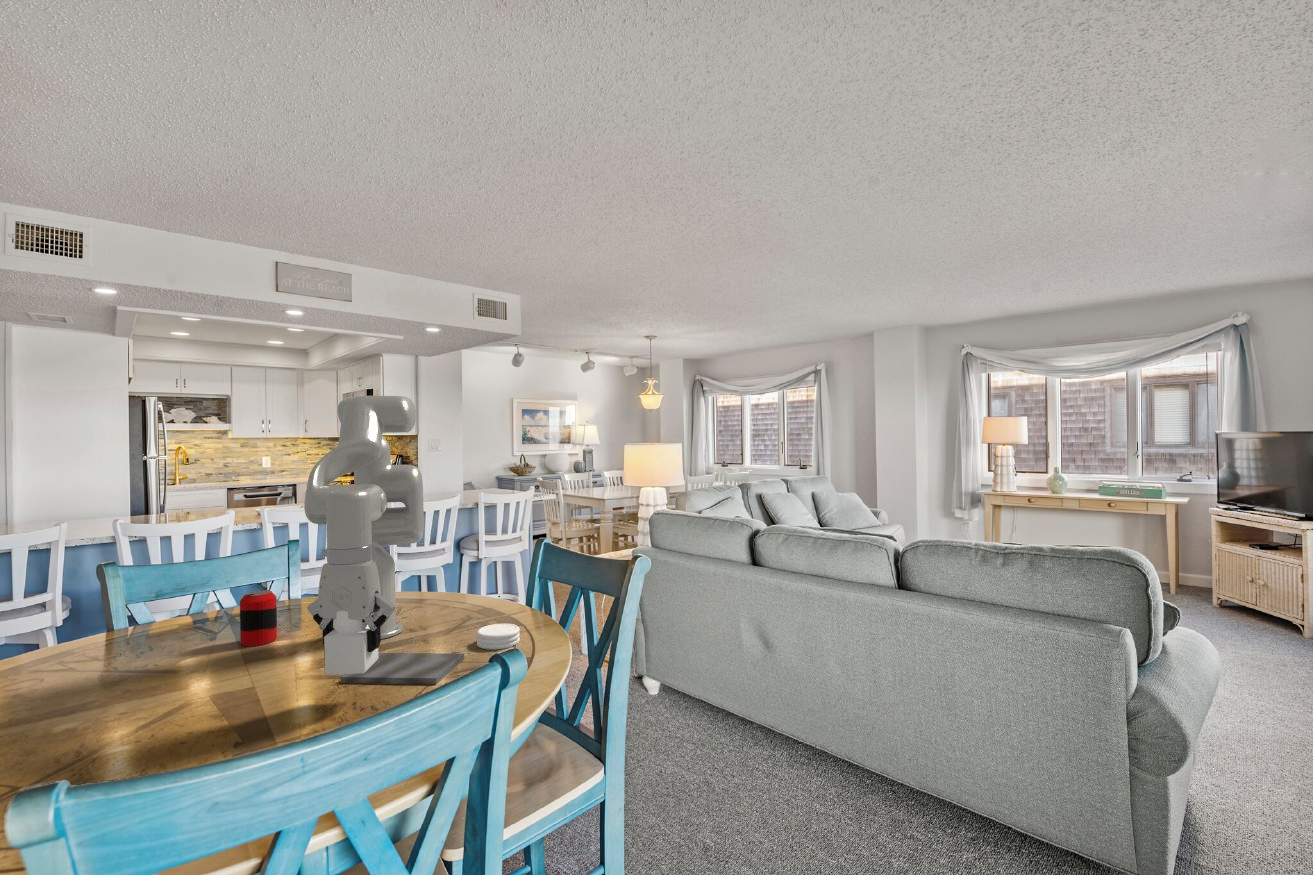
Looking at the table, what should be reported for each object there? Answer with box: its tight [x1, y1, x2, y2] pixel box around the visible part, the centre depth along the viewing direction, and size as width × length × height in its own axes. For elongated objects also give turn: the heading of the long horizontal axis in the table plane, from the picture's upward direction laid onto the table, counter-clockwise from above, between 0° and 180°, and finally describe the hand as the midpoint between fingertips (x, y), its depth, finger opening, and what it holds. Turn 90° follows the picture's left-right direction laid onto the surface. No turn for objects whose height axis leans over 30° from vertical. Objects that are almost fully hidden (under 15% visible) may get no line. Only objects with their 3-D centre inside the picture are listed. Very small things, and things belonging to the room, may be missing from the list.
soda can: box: [239, 589, 278, 648], centre depth 151 cm, size 8×8×12 cm
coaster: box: [476, 623, 521, 651], centre depth 147 cm, size 10×10×4 cm
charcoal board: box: [339, 652, 465, 685], centre depth 130 cm, size 20×14×1 cm
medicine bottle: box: [323, 611, 379, 676], centre depth 115 cm, size 7×7×12 cm
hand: (352, 648), depth 115 cm, fingers closed on medicine bottle, 7 cm apart
